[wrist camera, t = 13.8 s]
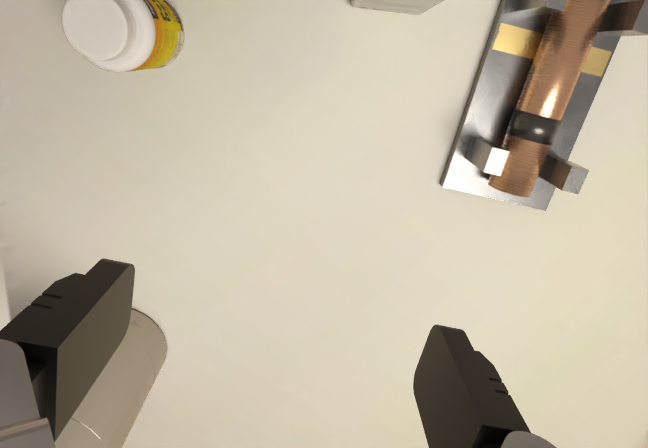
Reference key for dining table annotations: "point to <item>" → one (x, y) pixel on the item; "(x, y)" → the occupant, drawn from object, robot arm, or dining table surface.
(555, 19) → the copper tube
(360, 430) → the dining table surface
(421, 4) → the skincare box
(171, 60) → the supplement bottle
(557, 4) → the tube holder
